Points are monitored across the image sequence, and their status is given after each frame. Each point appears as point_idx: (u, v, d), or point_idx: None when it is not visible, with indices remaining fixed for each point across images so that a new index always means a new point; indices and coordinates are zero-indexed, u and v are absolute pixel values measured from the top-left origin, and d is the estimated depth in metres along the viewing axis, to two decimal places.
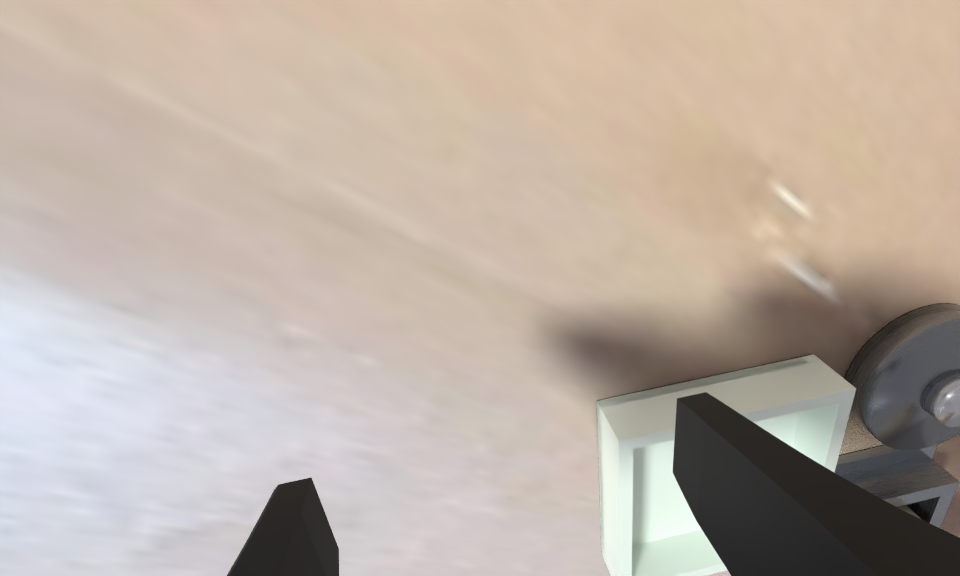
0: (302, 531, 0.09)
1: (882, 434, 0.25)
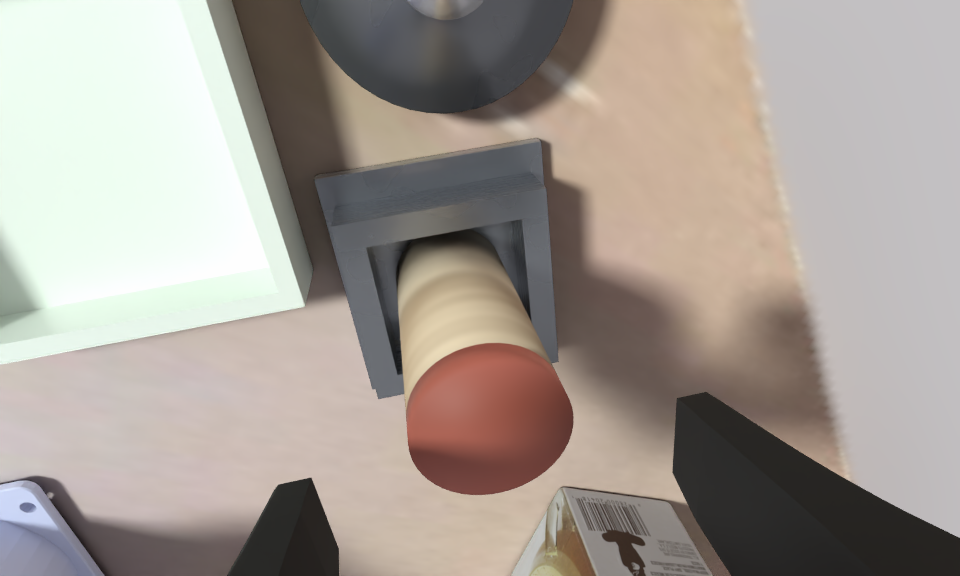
0: (302, 531, 0.09)
1: (350, 63, 0.14)
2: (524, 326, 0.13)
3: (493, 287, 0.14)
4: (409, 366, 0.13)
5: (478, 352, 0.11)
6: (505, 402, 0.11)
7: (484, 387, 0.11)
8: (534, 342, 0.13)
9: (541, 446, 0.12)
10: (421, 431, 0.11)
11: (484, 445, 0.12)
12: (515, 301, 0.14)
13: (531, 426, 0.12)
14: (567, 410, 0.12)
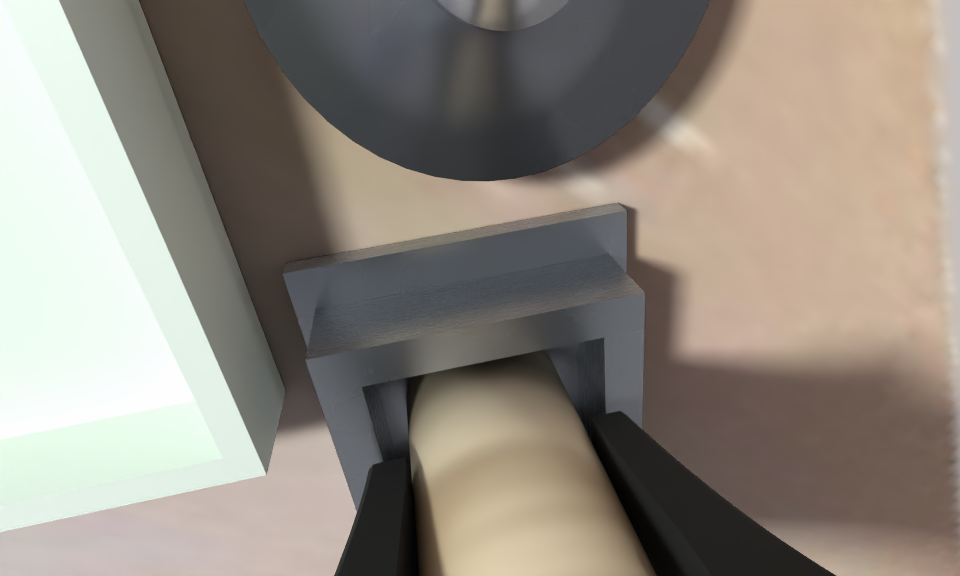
0: (407, 507, 0.09)
1: (334, 103, 0.08)
2: None
3: (575, 479, 0.08)
4: None
5: None
6: None
7: None
8: None
9: None
10: None
11: None
12: (610, 500, 0.09)
13: None
14: None
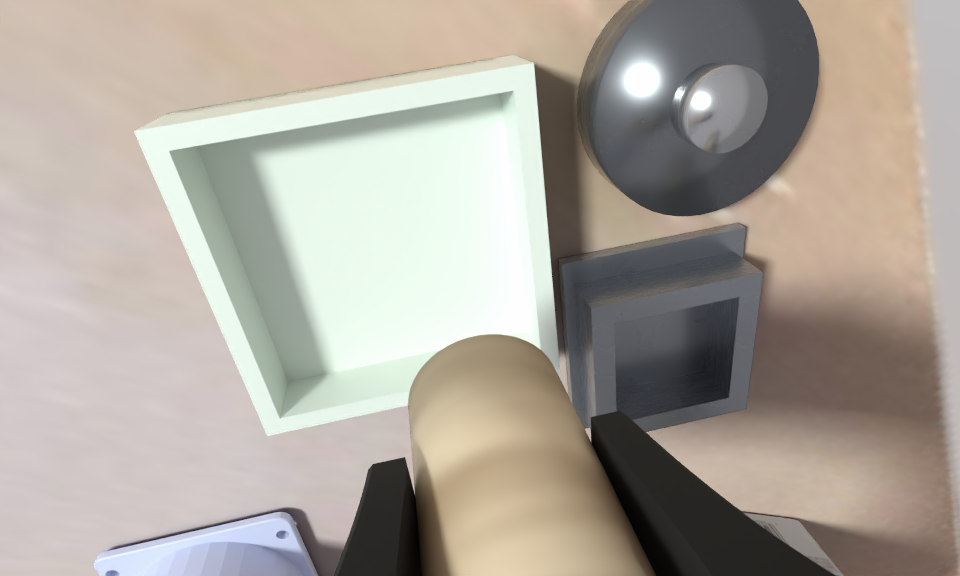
0: (406, 507, 0.09)
1: (626, 181, 0.17)
2: None
3: (566, 480, 0.08)
4: None
5: None
6: None
7: None
8: None
9: None
10: None
11: None
12: (604, 499, 0.09)
13: None
14: None
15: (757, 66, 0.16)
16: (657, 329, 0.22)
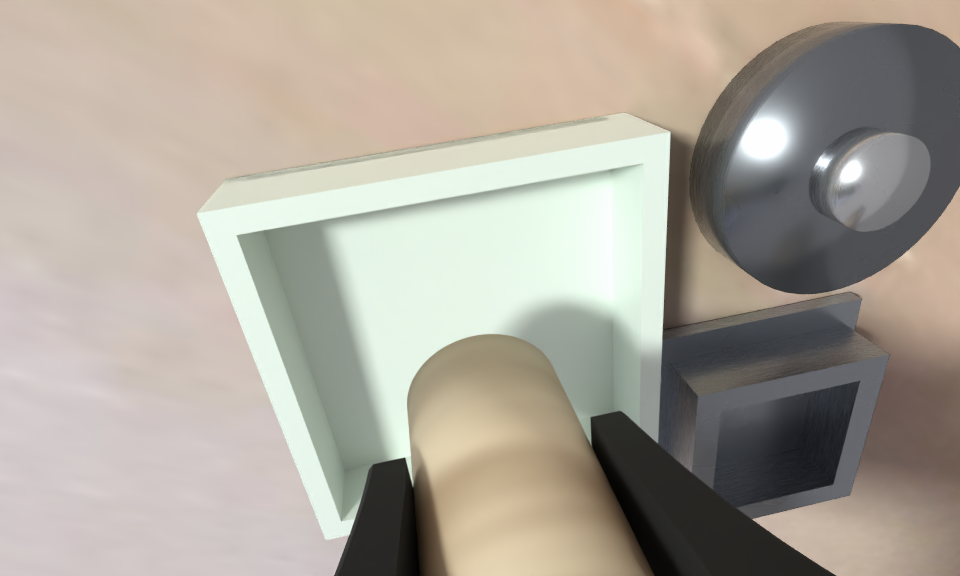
0: (406, 507, 0.09)
1: (749, 258, 0.15)
2: None
3: (564, 480, 0.08)
4: None
5: None
6: None
7: None
8: None
9: None
10: None
11: None
12: (602, 499, 0.09)
13: None
14: None
15: (911, 131, 0.14)
16: (754, 406, 0.19)
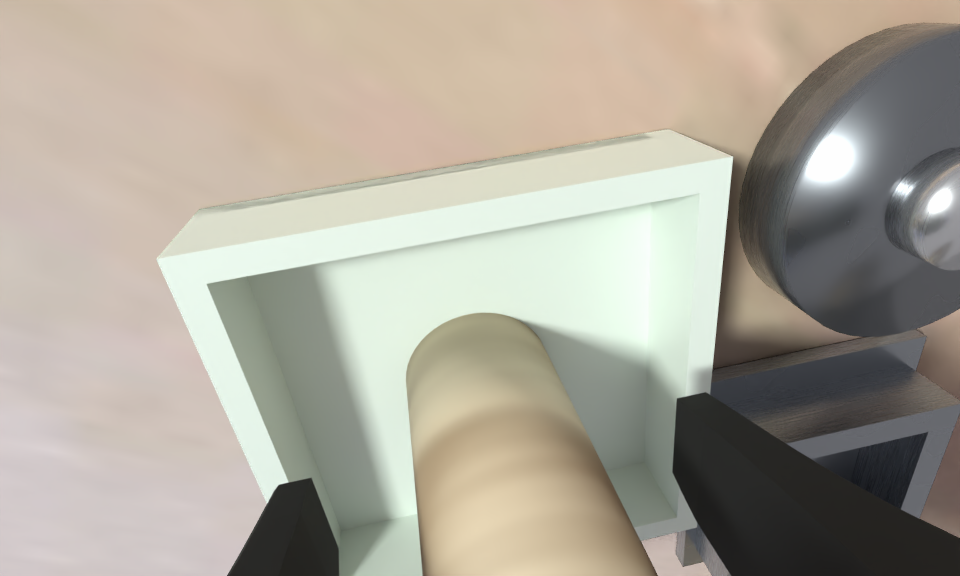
0: (302, 531, 0.09)
1: (811, 297, 0.13)
2: (610, 520, 0.08)
3: (550, 437, 0.09)
4: None
5: None
6: None
7: None
8: (632, 557, 0.08)
9: None
10: None
11: None
12: (584, 454, 0.09)
13: None
14: None
15: None
16: None
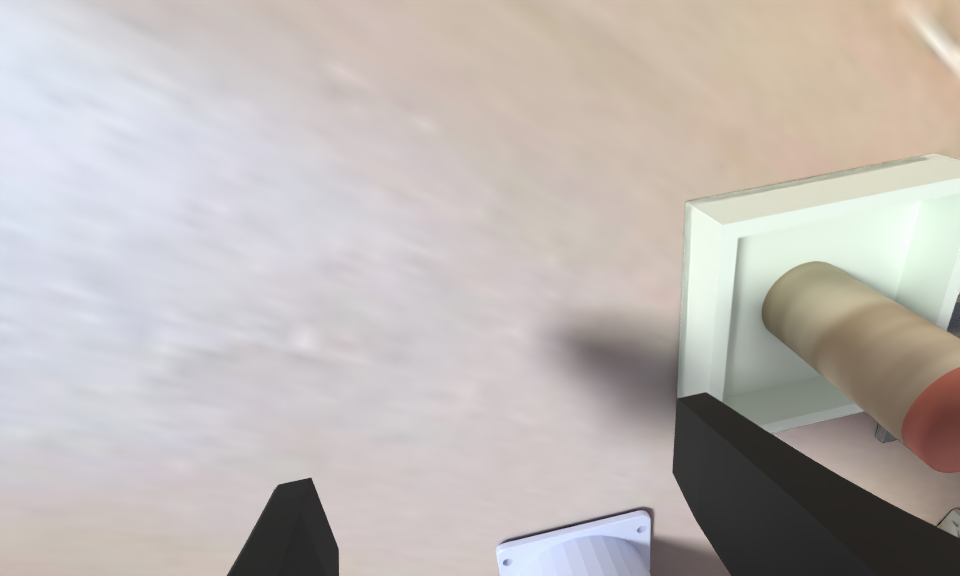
0: (302, 531, 0.09)
1: None
2: None
3: (915, 314, 0.18)
4: (889, 381, 0.17)
5: None
6: None
7: None
8: None
9: None
10: (939, 429, 0.16)
11: None
12: None
13: None
14: None
15: None
16: None
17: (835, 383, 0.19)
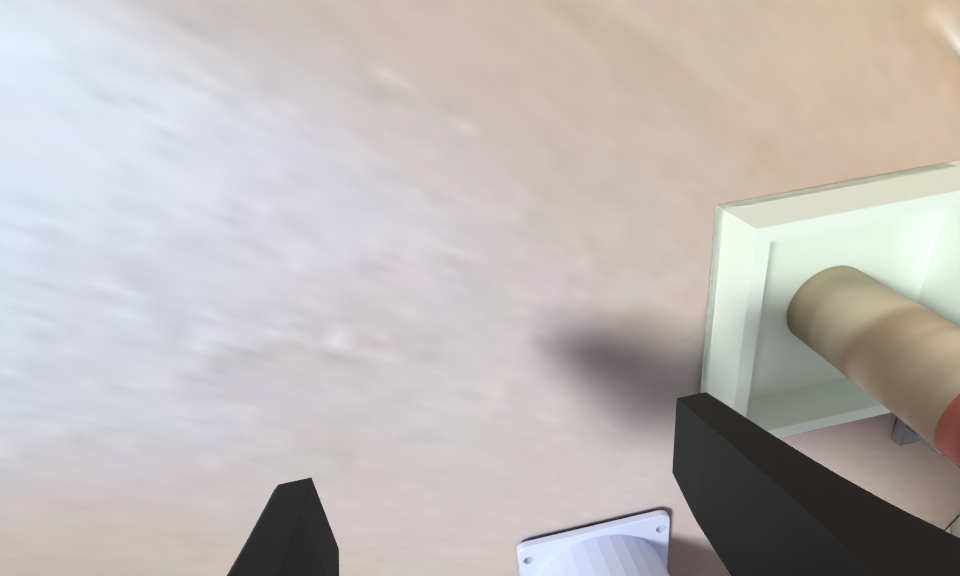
0: (302, 531, 0.09)
1: None
2: None
3: (944, 319, 0.19)
4: (922, 385, 0.17)
5: None
6: None
7: None
8: None
9: None
10: None
11: None
12: None
13: None
14: None
15: None
16: None
17: (864, 386, 0.20)
